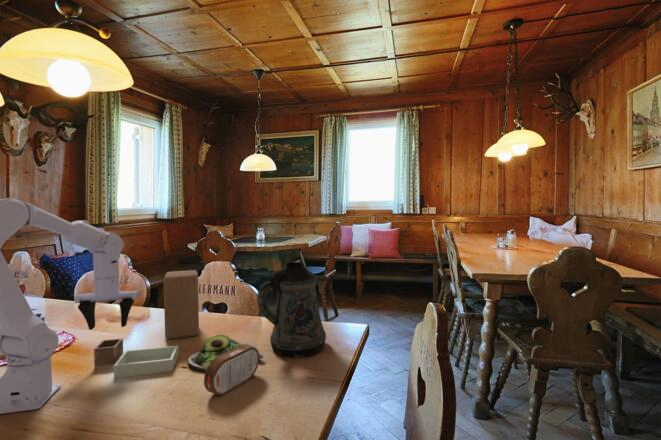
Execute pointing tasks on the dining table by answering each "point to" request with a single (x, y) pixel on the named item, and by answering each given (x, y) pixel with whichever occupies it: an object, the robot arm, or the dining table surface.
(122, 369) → the sage crate
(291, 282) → the beer stein
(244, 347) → the tin
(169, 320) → the wooden block
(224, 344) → the salad plate
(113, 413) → the dining table surface
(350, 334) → the dining table surface
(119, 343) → the walnut crate
